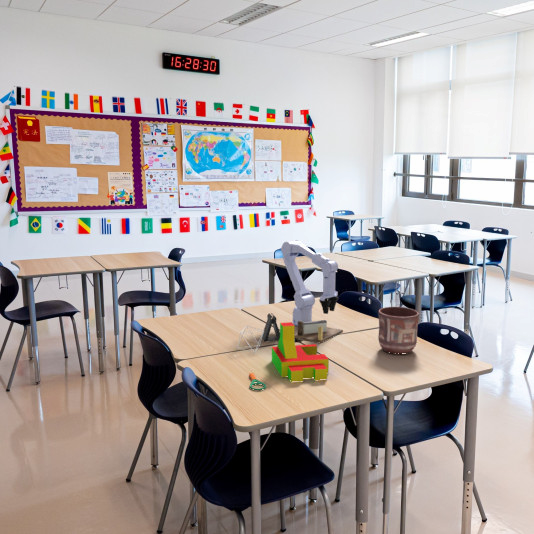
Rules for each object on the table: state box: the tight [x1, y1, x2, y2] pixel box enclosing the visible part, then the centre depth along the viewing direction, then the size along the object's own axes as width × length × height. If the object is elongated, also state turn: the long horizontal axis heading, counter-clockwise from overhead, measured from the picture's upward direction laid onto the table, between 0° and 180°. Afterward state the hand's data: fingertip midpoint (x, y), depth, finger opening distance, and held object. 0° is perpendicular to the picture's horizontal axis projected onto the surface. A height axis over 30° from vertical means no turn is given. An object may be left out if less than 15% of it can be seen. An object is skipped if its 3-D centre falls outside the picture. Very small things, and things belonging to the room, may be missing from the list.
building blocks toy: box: [271, 321, 330, 383], centre depth 227 cm, size 19×25×18 cm
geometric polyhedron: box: [236, 325, 264, 354], centre depth 254 cm, size 12×11×9 cm
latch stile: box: [318, 326, 323, 341], centre depth 264 cm, size 2×1×6 cm
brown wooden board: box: [294, 321, 344, 344], centre depth 275 cm, size 15×22×8 cm
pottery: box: [377, 306, 420, 354], centre depth 251 cm, size 18×18×18 cm
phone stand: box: [260, 312, 280, 343], centre depth 268 cm, size 9×6×12 cm, turn 103°
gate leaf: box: [303, 319, 328, 334], centre depth 274 cm, size 12×2×5 cm, turn 110°
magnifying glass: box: [248, 372, 267, 391], centre depth 215 cm, size 15×6×2 cm, turn 13°
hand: (328, 312), depth 281 cm, fingers open, 6 cm apart
